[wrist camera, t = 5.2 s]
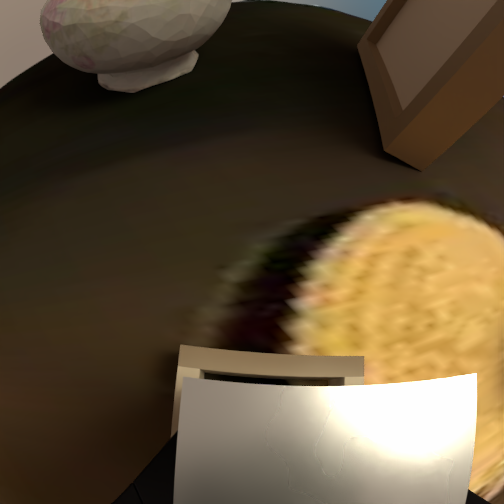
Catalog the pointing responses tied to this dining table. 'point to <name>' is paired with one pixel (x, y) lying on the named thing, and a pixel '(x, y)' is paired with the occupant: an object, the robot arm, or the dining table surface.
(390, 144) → the photo frame
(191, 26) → the ceramic pitcher
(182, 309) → the dining table surface
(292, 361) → the pocket frame
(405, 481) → the metal block
